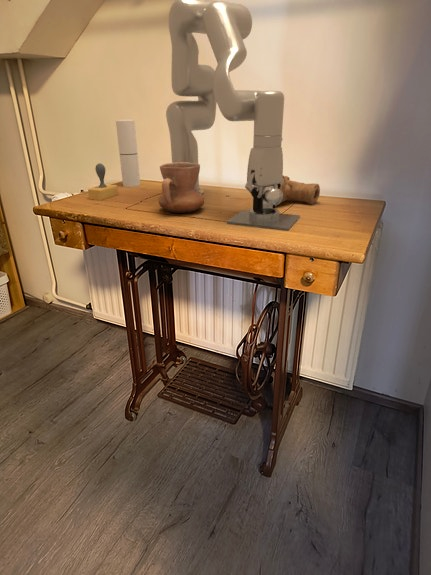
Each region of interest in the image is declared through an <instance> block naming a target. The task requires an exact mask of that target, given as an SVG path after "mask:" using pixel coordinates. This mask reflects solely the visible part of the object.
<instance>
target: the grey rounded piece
mask: <svg viewBox="0 0 431 575" xmlns="http://www.w3.org/2000/svg"><path fill="white" fill-rule="evenodd" d="M257 191H258V188H257ZM261 198H263V202H262V212H258V211H256V213H259V214H271V213H272V212H273V205H276V206H278V205H280V204H282V203H281V201H282V199H283V192H282V191H281V190H280V189H276V188H274V185H270V186H264V187H263V190H262V195H261Z"/></svg>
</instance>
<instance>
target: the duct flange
mask: <svg viewBox="0 0 431 575" xmlns="http://www.w3.org/2000/svg"><path fill="white" fill-rule="evenodd" d="M300 218H301V215H298V214H292V213H291V214H290V213H289V214H288V213H280V210H279V209H277V208H274V209H273V212H272V213H271V214H259V213H256V211H255V210H253V208H250V209H249V210H248V209H242V210H241V211H240V212H238V213H237V214H235V215H234V216H232V217H231V218H229V219H228V220H226V224H227V225H237V226H245V227H252V228H253V227H255V228H261V229H262V228H263V229H270V230H271V229H272V230H279V231H290V229H291V228H292V227H293V226H294V225H295V224H296V223H297V222H298V220H299V219H300Z"/></svg>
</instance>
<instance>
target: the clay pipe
mask: <svg viewBox="0 0 431 575" xmlns="http://www.w3.org/2000/svg"><path fill="white" fill-rule="evenodd" d="M282 176H283V178H284V180H285V181H284V183H283V184H282V185H281V187H280V190H281V191H282V192H283V199H282V201H281V203H280V204H283V203H284V202H286V201H288V200H291V201H296V202H297V201H298V202H305V203H307V204H309V205H313V204H316V203H317V201H318V199H319V198H320V194H321V188H320V184H319V183H305V182H300V181H299V182H298V181H294V180H291V179H290V177H289V176H288V175H285V176H284V174H283V175H282Z"/></svg>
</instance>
